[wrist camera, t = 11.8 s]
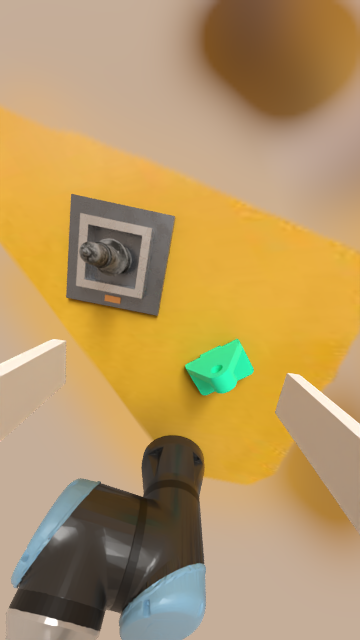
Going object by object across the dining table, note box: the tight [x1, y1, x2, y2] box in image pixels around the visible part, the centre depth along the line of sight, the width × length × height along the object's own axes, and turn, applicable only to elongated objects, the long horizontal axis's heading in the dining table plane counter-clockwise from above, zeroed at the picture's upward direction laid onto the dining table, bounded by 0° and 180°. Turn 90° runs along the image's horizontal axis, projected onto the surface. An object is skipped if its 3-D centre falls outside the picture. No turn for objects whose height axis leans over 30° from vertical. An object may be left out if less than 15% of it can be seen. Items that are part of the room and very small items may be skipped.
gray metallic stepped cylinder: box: [79, 238, 132, 276], centre depth 28 cm, size 6×6×12 cm
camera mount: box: [185, 339, 254, 395], centre depth 35 cm, size 12×8×10 cm, turn 119°
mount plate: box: [66, 194, 175, 316], centre depth 33 cm, size 18×18×4 cm
